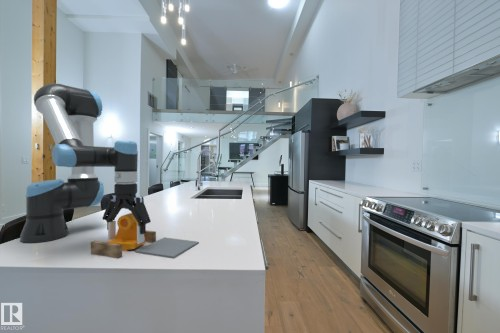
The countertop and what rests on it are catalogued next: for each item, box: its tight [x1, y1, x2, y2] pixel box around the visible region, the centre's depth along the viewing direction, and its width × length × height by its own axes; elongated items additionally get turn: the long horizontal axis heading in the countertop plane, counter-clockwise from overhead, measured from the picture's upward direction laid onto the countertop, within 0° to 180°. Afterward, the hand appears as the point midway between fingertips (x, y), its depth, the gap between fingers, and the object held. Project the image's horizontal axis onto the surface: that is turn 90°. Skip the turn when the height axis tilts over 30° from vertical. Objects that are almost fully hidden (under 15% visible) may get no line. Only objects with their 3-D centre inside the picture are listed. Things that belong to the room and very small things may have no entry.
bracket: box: [107, 212, 146, 252], centre depth 89 cm, size 11×7×12 cm, turn 83°
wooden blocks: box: [90, 229, 157, 259], centre depth 89 cm, size 12×18×4 cm, turn 162°
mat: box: [134, 237, 200, 259], centre depth 89 cm, size 16×16×1 cm
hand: (125, 240), depth 89 cm, fingers open, 13 cm apart
